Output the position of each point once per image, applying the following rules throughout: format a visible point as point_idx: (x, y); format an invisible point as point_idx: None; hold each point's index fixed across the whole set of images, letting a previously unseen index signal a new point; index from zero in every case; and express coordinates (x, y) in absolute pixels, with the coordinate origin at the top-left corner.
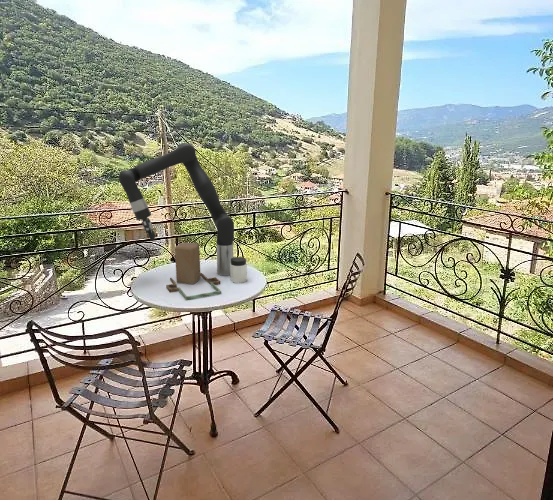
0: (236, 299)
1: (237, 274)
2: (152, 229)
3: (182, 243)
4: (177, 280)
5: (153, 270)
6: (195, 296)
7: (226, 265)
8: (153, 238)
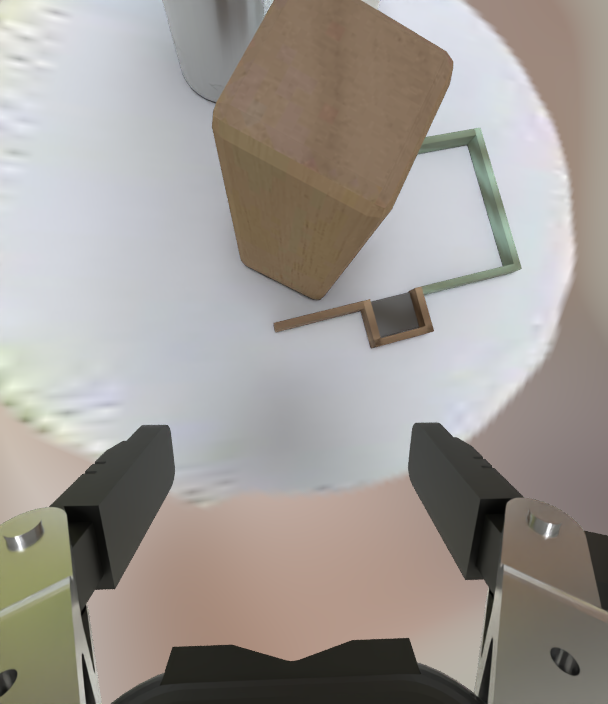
0: (528, 97)
1: (379, 2)
2: (69, 532)
3: (277, 118)
4: (325, 294)
5: (84, 424)
6: (507, 233)
7: (263, 9)
8: (461, 441)
